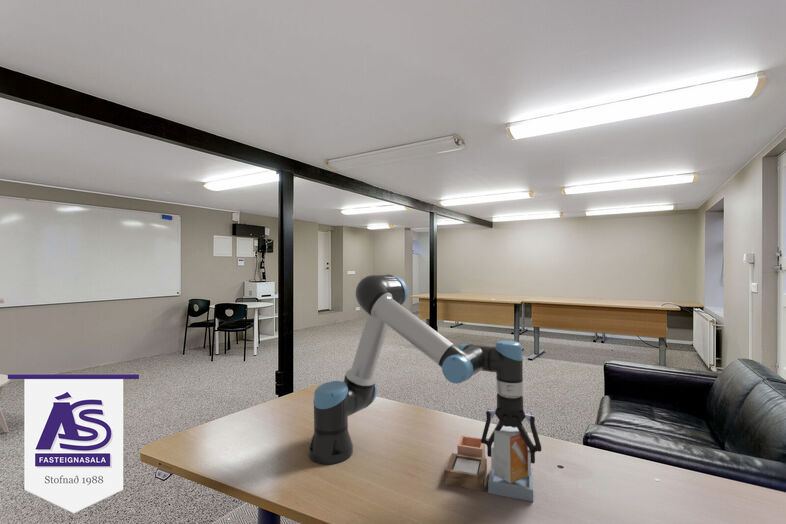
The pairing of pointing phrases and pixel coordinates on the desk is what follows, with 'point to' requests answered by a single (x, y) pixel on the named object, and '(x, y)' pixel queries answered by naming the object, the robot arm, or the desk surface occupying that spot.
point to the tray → (511, 487)
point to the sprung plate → (467, 466)
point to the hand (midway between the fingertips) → (511, 470)
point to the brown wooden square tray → (466, 473)
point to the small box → (510, 454)
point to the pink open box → (471, 447)
